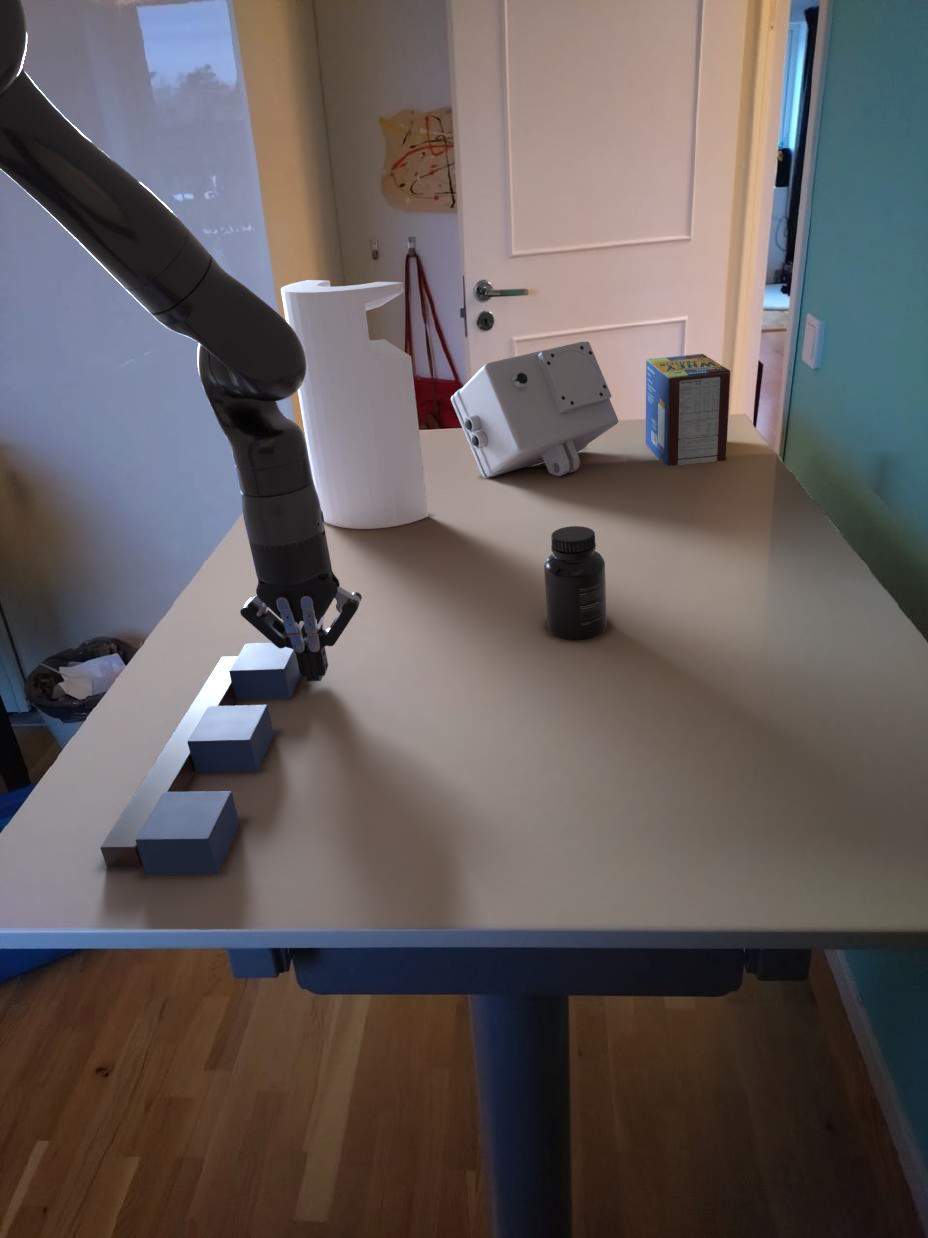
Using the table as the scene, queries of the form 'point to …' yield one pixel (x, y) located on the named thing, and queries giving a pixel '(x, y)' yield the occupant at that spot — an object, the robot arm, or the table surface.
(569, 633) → the supplement bottle
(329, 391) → the white tall curved block
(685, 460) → the protein box
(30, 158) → the robot arm
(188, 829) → the near block
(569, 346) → the junction box
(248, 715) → the middle block
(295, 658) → the far block
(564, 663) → the table surface
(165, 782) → the straightedge
